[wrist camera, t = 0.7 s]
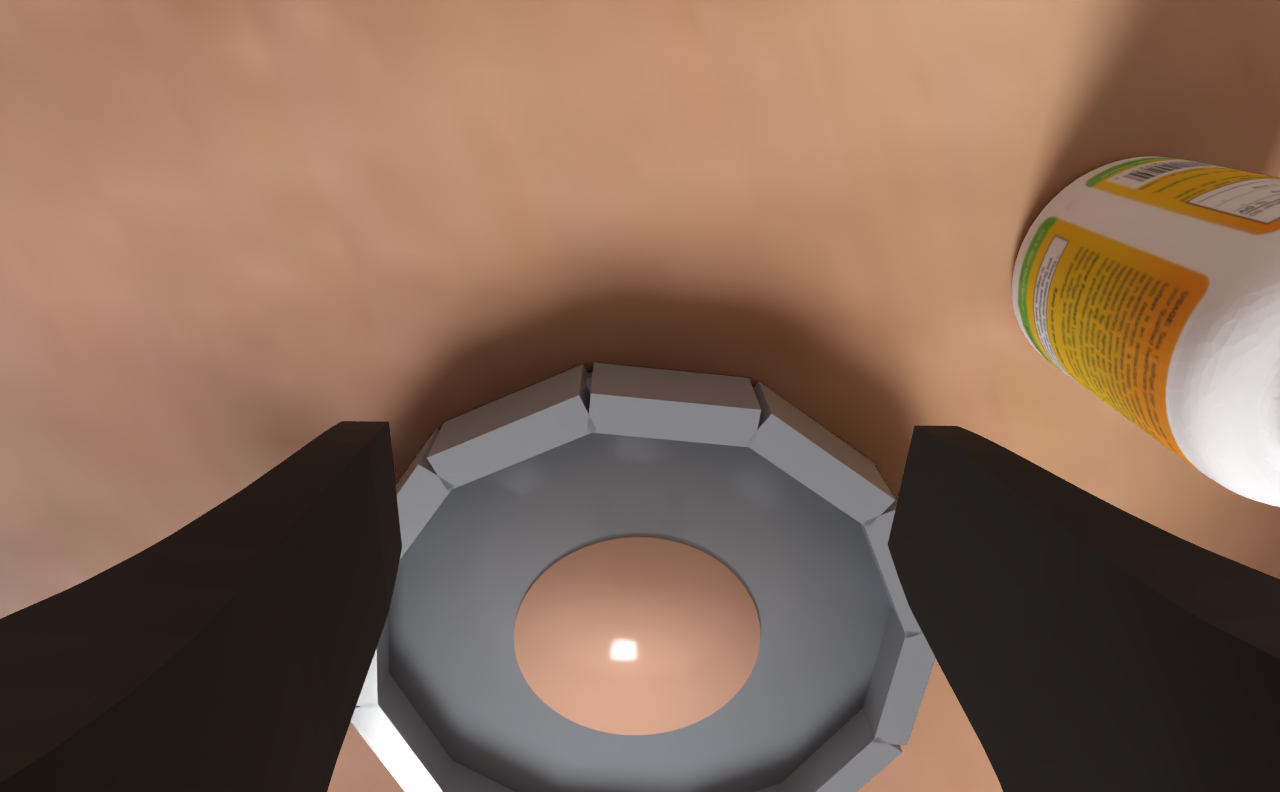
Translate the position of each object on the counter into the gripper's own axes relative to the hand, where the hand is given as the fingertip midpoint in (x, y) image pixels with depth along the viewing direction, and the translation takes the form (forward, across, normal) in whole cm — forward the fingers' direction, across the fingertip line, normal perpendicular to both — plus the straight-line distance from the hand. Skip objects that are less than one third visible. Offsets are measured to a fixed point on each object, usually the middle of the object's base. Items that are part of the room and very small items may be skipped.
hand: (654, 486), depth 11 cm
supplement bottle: (+9, -12, -1) cm, 15 cm away
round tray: (+9, -1, +10) cm, 14 cm away
